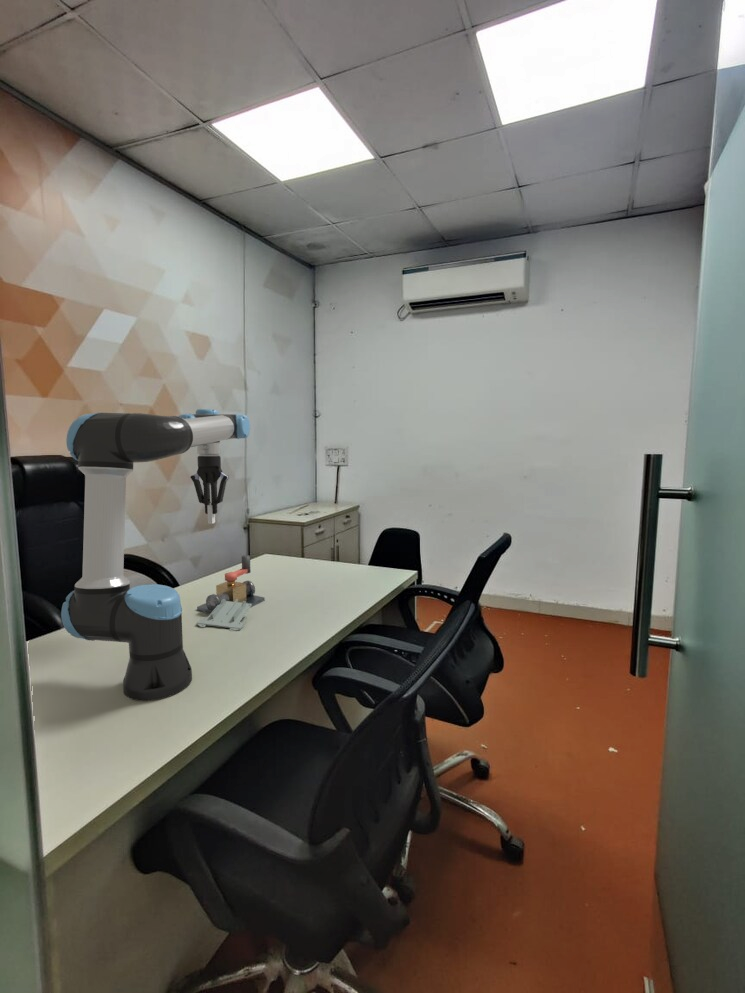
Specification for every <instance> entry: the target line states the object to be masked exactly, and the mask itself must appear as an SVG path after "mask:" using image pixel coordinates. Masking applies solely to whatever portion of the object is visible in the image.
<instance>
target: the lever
mask: <svg viewBox="0 0 745 993" xmlns="http://www.w3.org/2000/svg"><path fill="white" fill-rule="evenodd" d="M250 573H251V555H247V554H246V555H241V568H240V569H237V570H235V571H233V572H232V571H230V572H229V571H228V572H226V573H224V581H225V582H227V581H235V582H236V581H237V580H238V578H239V577H241V576H243V575H246V574H250Z"/></svg>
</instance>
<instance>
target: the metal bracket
mask: <svg viewBox="0 0 745 993" xmlns="http://www.w3.org/2000/svg"><path fill="white" fill-rule="evenodd" d="M249 605H250V606H249ZM251 605H252V604H249V603H246V601H245V602H244V601H243V603H240V602H238V599H236V601H235V602H231V601H226V600H225V599H222V601H221V604H220V605H217V607H216V608H215V609H214V610H213V611H212V613H209V615H208V616H207V617H202V616H201V617H200V618H199V619H198V621H197V622H196V625H197V626H199V627H200V628H205V627H206V626H211V627H216V628H217V627H218V628H226V629H229V631H230V632H234V631H240V630H242V629H243V627H244V626H245V624H246V623H245V622H243V621H242V619H243V618H244V617H245V615H246V614H247V612H248V611H249V610H250V609H251V608H252V607H251ZM241 621H242V622H241Z"/></svg>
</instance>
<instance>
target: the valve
mask: <svg viewBox="0 0 745 993" xmlns="http://www.w3.org/2000/svg"><path fill="white" fill-rule="evenodd" d="M255 587H256V586H255V584H254V583H253V582H252V581H251V580H245V581H243V582H240V581H236V580H235V581H225V582H222V583H218V584H215V589H216V591H215V592H216V593H213V594H209V595H208V596H207V597H206V599H205V603H203V604H200V605H198V606H196V610H197V611H198V612H203V613H207V614H211V613H212V611H213V610H214V609H215V608H216V607H217V605H220V604H221V601H222V599H225V600H226V601H231V602H235V601H236V599H238V602H240V603H243V601H244V602H245V601H246V603H249V604H252V605H251V607H250V608H252V607H254V606H256V605H258V604H261V603H263V602H264V601H265V600H266V599H265V597H264V596H260V595H255V593H256V588H255ZM249 606H250V605H249Z"/></svg>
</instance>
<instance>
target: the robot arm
mask: <svg viewBox="0 0 745 993" xmlns="http://www.w3.org/2000/svg"><path fill="white" fill-rule="evenodd" d="M250 423H251V422H250V419H249V417H248V416H247V415H246V414H239V413H236V414H235V413H233V414H232V413H231V414H229V413H228V414H227V413H226V414H222V413H221V414H220V413H219V411H218V410H217V409H211V408H209V409H208V408H206V409H205V408H203V409H202V408H200V409H197V410H195V414H194V413H193V414H192V413H182V414H180V415H168V416H167V415H158V414H152V413H151V414H150V413H140V412H139V413H137V412H136V413H135V412H134V413H129V412H128V413H127V412H126V413H125V412H124V413H123V412H97V413H86V414H83V415H80V416H78V417H77V418H76V419H75V420H73V421H72V423H71V424H70V426H69V427H68V431H67V433H66V438H65V439H66V441H65V442H66V447H67V450H68V452H69V455H70V456H71V458H72V459H74V460H75V461H77V462H78V463H77V468H78V470H79V471H80V472H81V473H82V474H84V507H83V508H84V509H83V510H84V512H83V513H84V514H83V517H84V518H83V542H82V543H83V544H82V545H83V550H82V577H80V579H79V580H78V581H76V583H75V584H74V590H72V591H70V593H69V594H68V595H67V596H66V597H65V601H64V602H63V603H62V606H61V613H60V616H61V622H62V625H63V628H64V630H65V631H66V632H67V633H68V634H70V636H72V637H74V638H77V639H81V640H86V641H94V642H95V641H103V642H116V643H127V644H128V653H129V659H128V663H127V667H126V670H125V675H124V677H123V680H122V690H123V695H124V697H127V698H129V699H131V700H136V701H143V702H144V701H146V702H147V701H155V700H161V699H164V698H169V697H171V696H173V695H176V694H178V693H180V692H182V691H183V690H185V689H186V688H187V687H189V685H190V684H191V683H192V681H193V670H192V666H191V664H190V662H189V659H188V657H187V655H186V652H185V649H184V644H183V643H184V642H183V638H184V636H183V620H182V618H183V616H182V614H183V606H182V603H181V596H180V594H179V593H178V591H177V590H176V589H175V588H173V587H171V586H168V585H165V584H164V585H163V584H157V583H154V584H153V583H152V584H151V583H150V584H141V585H136V586H133V587H131V585H130V584H131V581H130V580H129V579H128V578H127V577H126V576H125V575H124V566H125V565H124V563H125V562H124V561H125V559H124V558H125V555H124V554H125V524H126V523H125V522H126V495H127V493H126V492H127V489H126V488H127V487H126V486H127V477H128V476H129V475H130V474H132V473H133V472H134V463H148V462H154V461H159V460H162V459H167V458H171V457H173V456H178V455H180V454H185V453H186V452H188V451H189V450H190V449H191V448H194V447H196V452H197V454H198V456H197V457H196V458H197V471H196V473H195V474H193V475H191V476H190V479H191V481H192V482H193V485H194V488H195V492H196V496H197V499H198V503H200V504H203V505H204V513H205V514H206V515H207V524H208V525H212V524H215V523H216V514H218V504H220V503H222V502H223V500H224V494H225V492H226V491H225V490H226V486H227V482H228V480H229V479H230V475H229V474H227V475H226V474H225V473H223V470H222V460H221V455H220V454H221V441H225V440H232V439H237V440H240V439H246V438H248V437H249V435H250V433H251V424H250ZM200 479H201V481H202V484H201V481H200ZM219 479H220V483H219V488H218V481H219Z"/></svg>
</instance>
